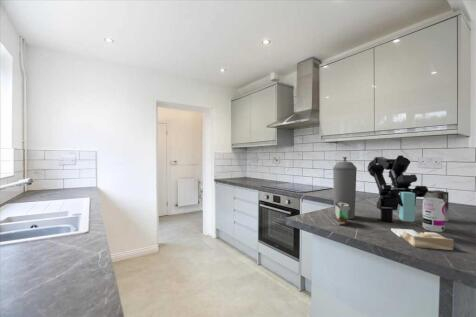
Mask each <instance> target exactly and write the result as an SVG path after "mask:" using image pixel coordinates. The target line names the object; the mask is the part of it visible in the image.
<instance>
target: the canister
mask: <svg viewBox="0 0 476 317" xmlns="http://www.w3.org/2000/svg"><path fill="white" fill-rule="evenodd" d="M342 159H343V161H342V160H341V161H337V163H336V164H334V166H332V170H333V171H332V173H333V175H332V176H333V177H332V179H333V180H332V181H333V215H334V217H335V202H342V203H346V204H348V205H349V207H350V210H348V220H353V219H355V217H356V216H355V214H356V197H357V196H356V194H357V192H356V191H357V170H358V168H357V166H356V165H354V163H353V162H351V161H347V159H348V157H347V156H343V157H342Z"/></svg>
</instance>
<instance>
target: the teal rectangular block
mask: <svg viewBox="0 0 476 317" xmlns="http://www.w3.org/2000/svg"><path fill="white" fill-rule="evenodd" d="M399 196H400V198H401V200H402V203H403V206H400V205H399V204H398V210H399V211H398V219H400V221H403V222H415V221H416V220H415V219H416V218H415V215H416V214H415V213H416V211H415V210H416V205H415V193H412V192H400V193H399Z"/></svg>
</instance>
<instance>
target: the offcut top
mask: <svg viewBox="0 0 476 317" xmlns="http://www.w3.org/2000/svg"><path fill="white" fill-rule="evenodd" d="M423 233H424V234H426V235H427V236H429V237H433V238H444V237H445V236H443V235H441V234H439V233H437V232H432V231H430V232H428V231H424V232H423ZM436 233H437V234H436ZM438 234H439V235H438ZM440 235H441V236H440ZM442 236H443V237H442Z"/></svg>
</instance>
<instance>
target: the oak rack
mask: <svg viewBox="0 0 476 317" xmlns="http://www.w3.org/2000/svg"><path fill="white" fill-rule="evenodd" d="M435 233H436V234H438V235H440V236H442V237H444V238H433V237H429V236H427V235H426V234H424V232H419V234H420V237H419V236H412V235H410V234H409V233H407V232H406V231H403V237H402V239H404V240H405V241H406V242H408V243H409V244H410V245H411V246H412V247H414V248H421V249H435V250H444V251H445V250H448V251H454V239H453V238H447V237H445V236H443V235H441V234H439V233H438V232H435Z"/></svg>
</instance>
